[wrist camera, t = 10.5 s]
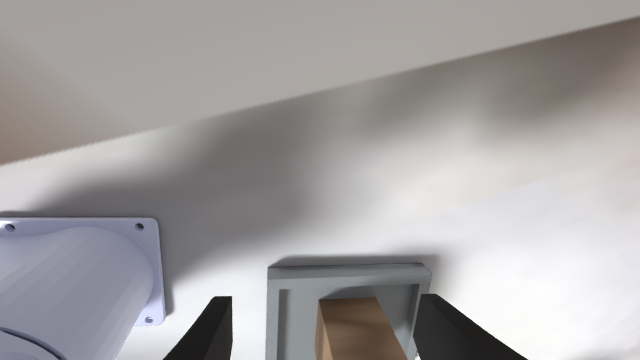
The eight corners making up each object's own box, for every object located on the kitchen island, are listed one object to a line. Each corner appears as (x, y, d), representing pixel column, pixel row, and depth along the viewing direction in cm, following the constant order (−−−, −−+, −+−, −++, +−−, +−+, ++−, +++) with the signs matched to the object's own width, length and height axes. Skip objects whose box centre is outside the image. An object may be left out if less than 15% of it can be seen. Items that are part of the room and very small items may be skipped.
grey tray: (265, 375, 25) (264, 393, 24) (267, 267, 22) (267, 279, 21) (403, 363, 27) (411, 378, 26) (422, 263, 24) (431, 274, 23)
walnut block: (314, 348, 24) (328, 427, 19) (318, 299, 23) (335, 368, 18) (369, 344, 25) (398, 419, 20) (376, 297, 24) (409, 362, 18)
